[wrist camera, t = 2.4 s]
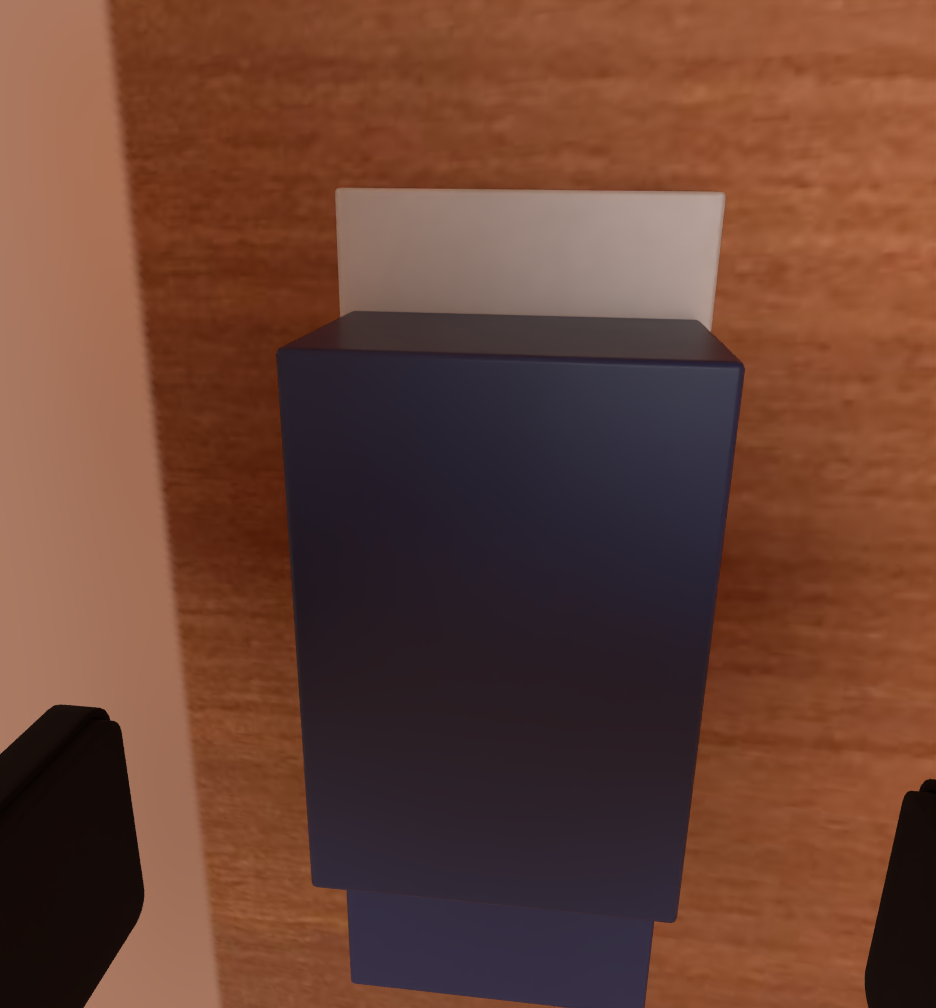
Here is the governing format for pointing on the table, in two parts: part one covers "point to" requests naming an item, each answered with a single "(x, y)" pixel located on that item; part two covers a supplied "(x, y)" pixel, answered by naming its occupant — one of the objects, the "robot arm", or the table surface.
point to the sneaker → (508, 578)
